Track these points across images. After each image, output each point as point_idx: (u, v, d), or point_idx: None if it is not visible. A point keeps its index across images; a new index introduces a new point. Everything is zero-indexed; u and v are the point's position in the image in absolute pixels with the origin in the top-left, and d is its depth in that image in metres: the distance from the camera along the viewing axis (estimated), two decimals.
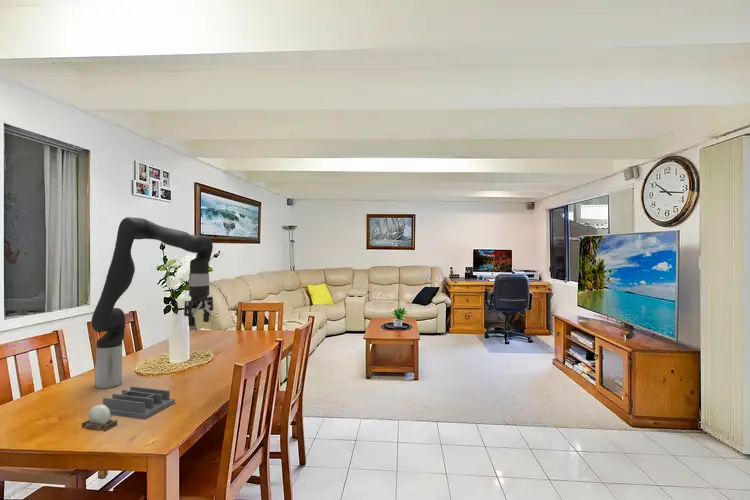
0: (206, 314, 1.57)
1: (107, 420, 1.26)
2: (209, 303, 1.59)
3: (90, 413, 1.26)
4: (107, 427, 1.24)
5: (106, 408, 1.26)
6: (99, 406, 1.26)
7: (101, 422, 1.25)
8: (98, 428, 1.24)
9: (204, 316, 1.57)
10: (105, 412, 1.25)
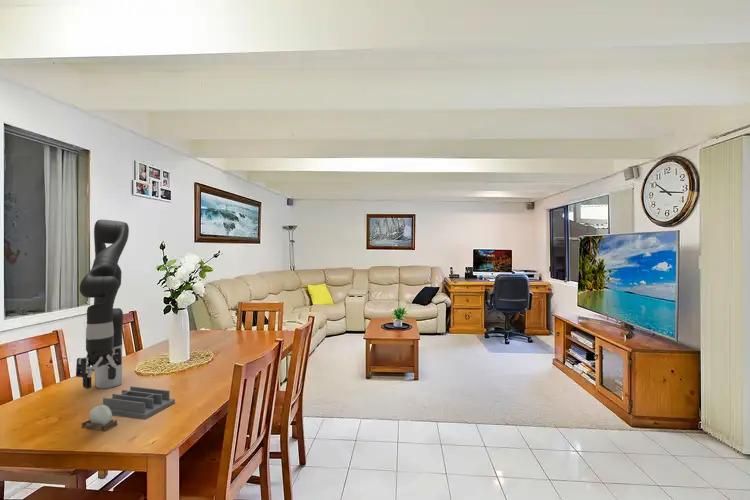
0: (111, 370, 1.30)
1: (108, 421, 1.26)
2: (116, 356, 1.32)
3: (91, 412, 1.26)
4: (107, 427, 1.24)
5: (108, 409, 1.26)
6: (101, 407, 1.26)
7: (102, 423, 1.25)
8: (98, 428, 1.24)
9: (109, 372, 1.30)
10: (107, 413, 1.25)
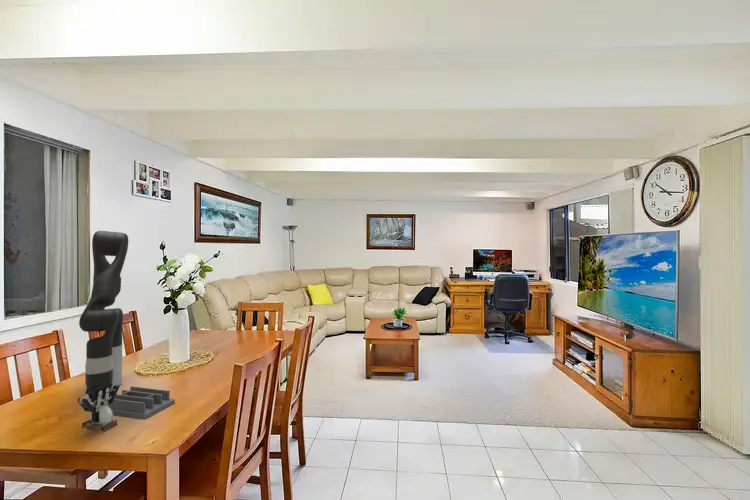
0: None
1: (108, 423, 1.25)
2: (111, 393, 1.30)
3: None
4: (107, 427, 1.24)
5: (110, 411, 1.26)
6: (104, 408, 1.25)
7: (102, 424, 1.25)
8: (98, 428, 1.24)
9: None
10: (108, 416, 1.25)
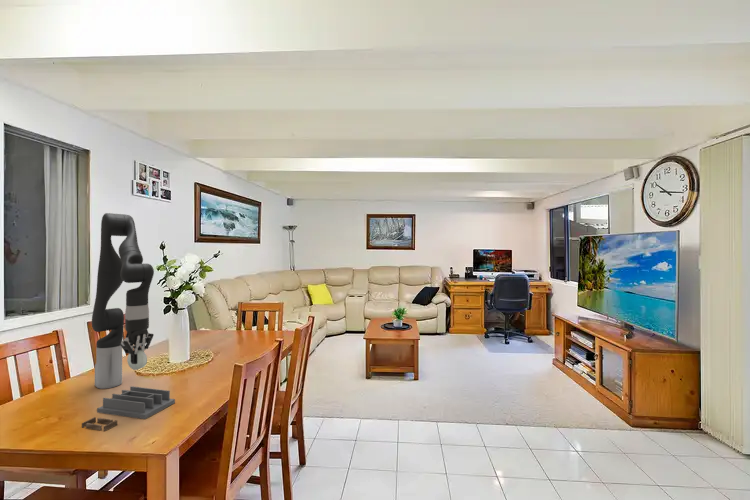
0: None
1: (143, 366, 1.40)
2: (147, 340, 1.45)
3: (130, 355, 1.40)
4: (107, 427, 1.24)
5: (145, 355, 1.41)
6: (139, 352, 1.40)
7: (138, 366, 1.40)
8: (98, 428, 1.24)
9: None
10: (143, 359, 1.40)
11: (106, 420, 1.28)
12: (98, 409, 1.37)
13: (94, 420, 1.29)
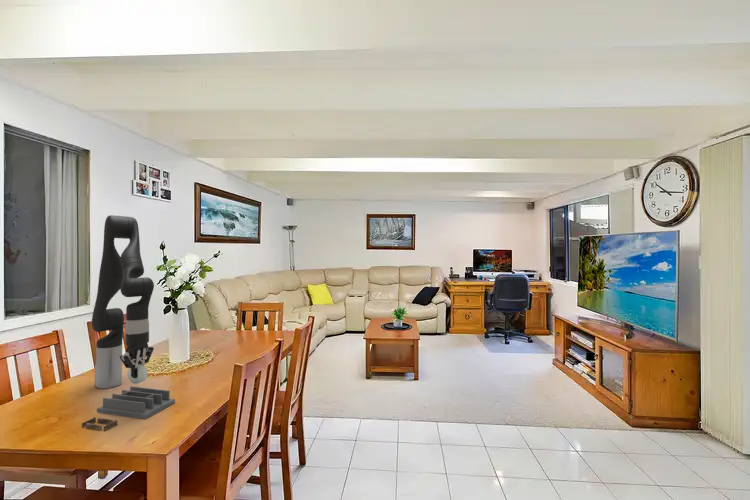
0: None
1: (143, 380, 1.40)
2: (147, 353, 1.45)
3: (130, 369, 1.40)
4: (107, 427, 1.24)
5: (145, 369, 1.41)
6: (140, 366, 1.40)
7: (138, 380, 1.40)
8: (98, 428, 1.24)
9: None
10: (143, 373, 1.40)
11: (106, 420, 1.28)
12: (98, 409, 1.37)
13: (94, 420, 1.29)
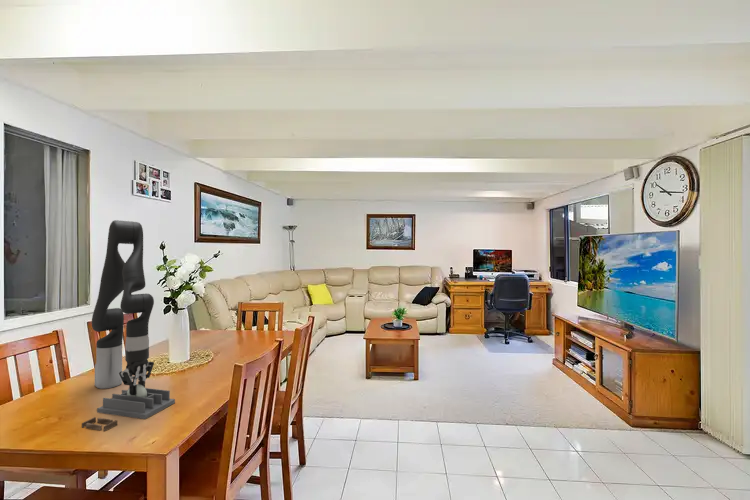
0: (141, 383, 1.42)
1: None
2: (148, 369, 1.45)
3: None
4: (107, 427, 1.24)
5: (144, 390, 1.41)
6: (139, 387, 1.40)
7: None
8: (98, 428, 1.24)
9: None
10: (143, 393, 1.40)
11: (106, 420, 1.28)
12: (98, 409, 1.37)
13: (94, 420, 1.29)
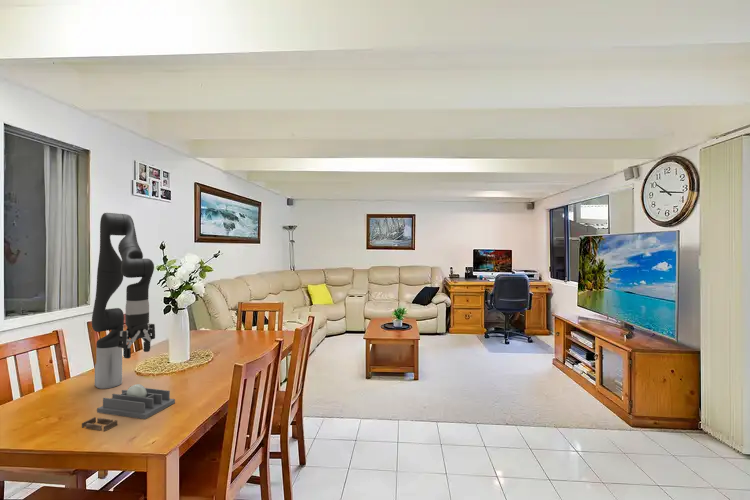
0: (146, 343, 1.45)
1: None
2: (150, 331, 1.46)
3: (128, 391, 1.41)
4: (107, 427, 1.24)
5: (144, 389, 1.41)
6: (138, 386, 1.40)
7: None
8: (98, 428, 1.24)
9: (144, 345, 1.45)
10: (143, 392, 1.40)
11: (106, 420, 1.28)
12: (98, 409, 1.37)
13: (94, 420, 1.29)
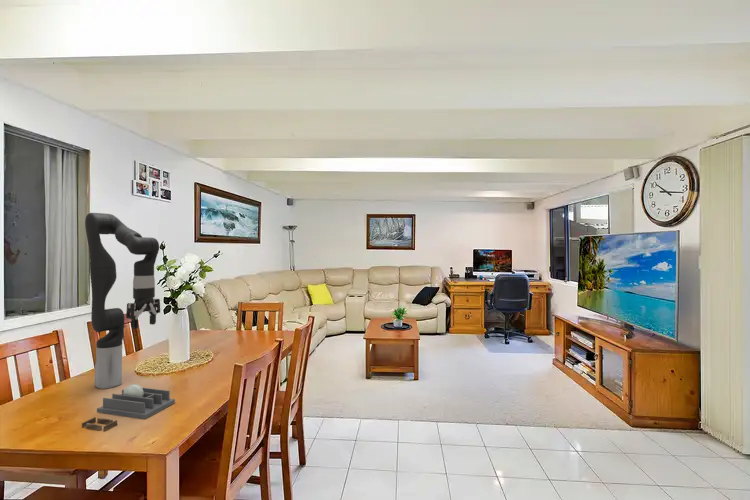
0: (152, 316, 1.56)
1: (141, 396, 1.41)
2: (156, 305, 1.57)
3: (124, 393, 1.41)
4: (107, 427, 1.24)
5: (138, 386, 1.41)
6: (132, 385, 1.41)
7: None
8: (98, 428, 1.24)
9: (150, 318, 1.56)
10: (138, 389, 1.40)
11: (106, 420, 1.28)
12: (98, 409, 1.37)
13: (94, 420, 1.29)
